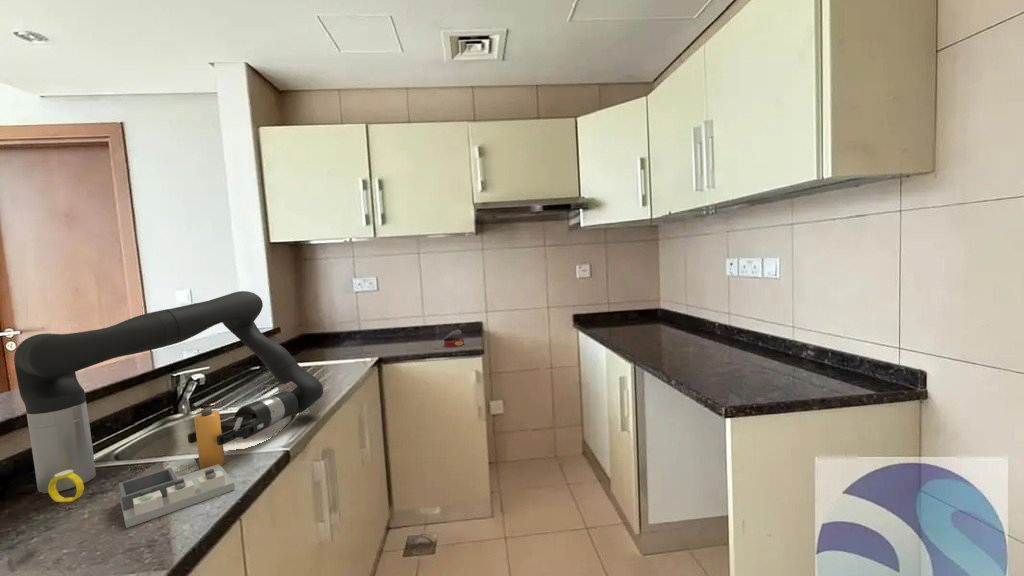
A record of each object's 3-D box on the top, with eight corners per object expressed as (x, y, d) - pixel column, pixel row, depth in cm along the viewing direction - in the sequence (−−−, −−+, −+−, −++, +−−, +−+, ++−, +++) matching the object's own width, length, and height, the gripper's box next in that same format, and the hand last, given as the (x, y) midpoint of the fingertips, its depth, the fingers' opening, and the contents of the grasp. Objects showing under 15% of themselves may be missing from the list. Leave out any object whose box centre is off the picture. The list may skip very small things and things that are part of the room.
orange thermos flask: (198, 466, 105) (191, 410, 104) (222, 458, 108) (216, 404, 107) (202, 472, 101) (195, 414, 100) (227, 464, 105) (220, 408, 104)
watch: (47, 506, 91) (40, 478, 91) (60, 499, 94) (54, 471, 93) (77, 502, 91) (71, 474, 91) (89, 495, 94) (83, 467, 93)
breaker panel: (120, 502, 90) (117, 480, 90) (219, 470, 102) (217, 450, 102) (126, 528, 81) (122, 503, 81) (234, 489, 93) (232, 468, 92)
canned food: (449, 356, 225) (438, 340, 223) (449, 350, 235) (439, 334, 233) (468, 345, 225) (457, 328, 223) (468, 339, 235) (458, 323, 233)
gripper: (237, 399, 120) (177, 422, 105) (281, 401, 116) (226, 425, 101) (240, 427, 121) (181, 454, 105) (284, 430, 117) (230, 458, 101)
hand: (203, 440), depth 103 cm, fingers open, 8 cm apart
